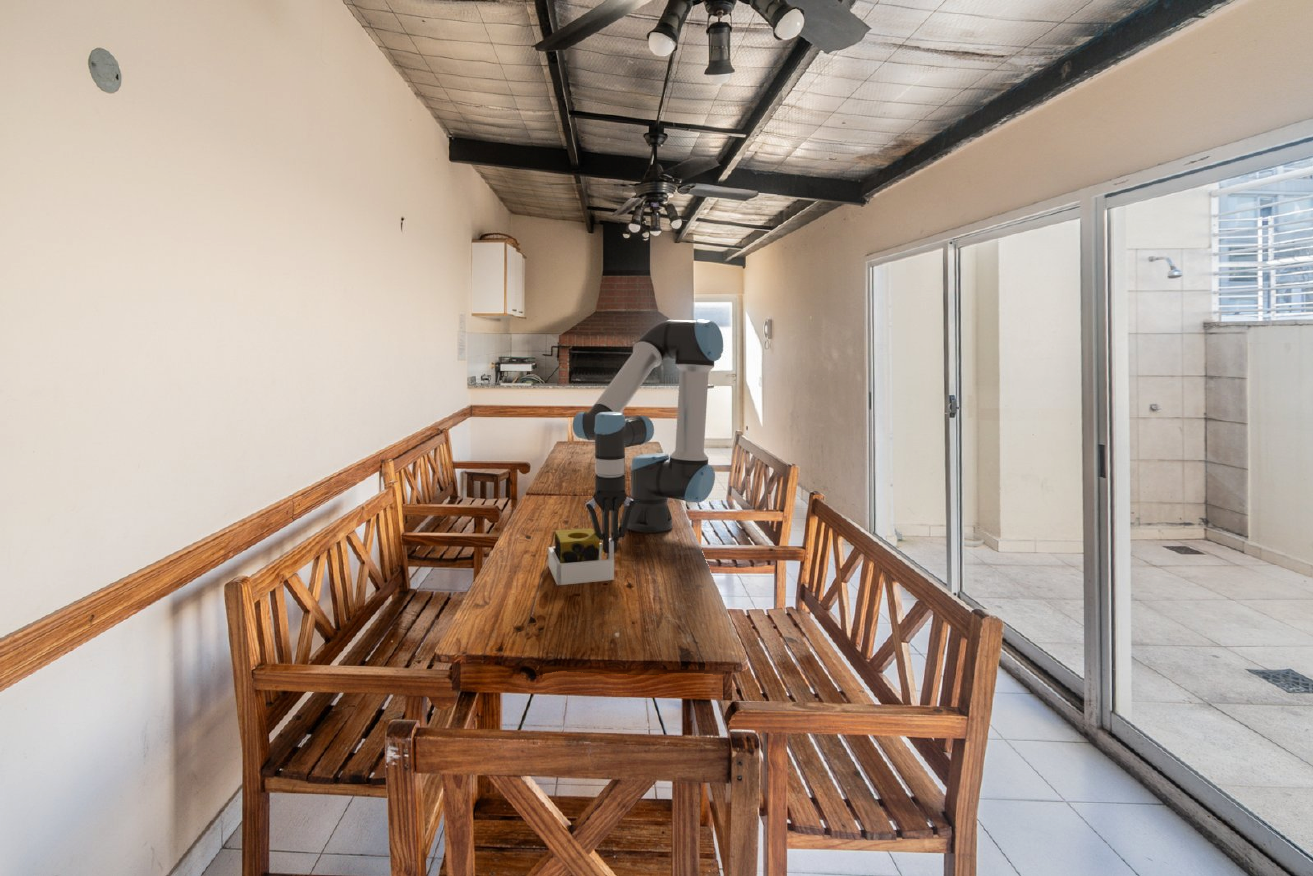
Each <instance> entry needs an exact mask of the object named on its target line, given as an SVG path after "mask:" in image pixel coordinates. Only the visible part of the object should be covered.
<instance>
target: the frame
mask: <svg viewBox="0 0 1313 876" xmlns="http://www.w3.org/2000/svg"><path fill="white" fill-rule="evenodd" d="M547 548H548V549H547V551H548V552H547V557H548V558H547V559H548V560H547V564H548V566H547V567H548V568H549V571H550V572H551V574H552V577H553V579H554V581H555V582H554V583H555V584H556V585H557V586H564V585H574V584H575V585H576V584H584V583H592V582H593V583H594V582H595V583H596V582H605V581H614V580H615V558H614V559H607V558H606V559H603V542H600V548H599V560H596V561H584V562H573V563H560V561H559V559H558V557H557V555H556V553H555V546H548V547H547Z"/></svg>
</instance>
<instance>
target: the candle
mask: <svg viewBox="0 0 1313 876" xmlns="http://www.w3.org/2000/svg"><path fill="white" fill-rule="evenodd" d="M600 543H601V541H600V540H599V538H598V537H597V536H596V534H595V531H594V528H574V529H555V530H554V544H555V545H554V547H555V553H556V555H557V557H558V559H559V561H560V563H573V562H584V561H596V560H599V548H600Z"/></svg>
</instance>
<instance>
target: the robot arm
mask: <svg viewBox="0 0 1313 876" xmlns="http://www.w3.org/2000/svg"><path fill="white" fill-rule="evenodd" d="M723 352H724V337H723V333H722V330H721V329H720V327H719V325H718V324H717V323H716V322H714V321H712V320H708V319H707V320H705V319H668V320H663V321H661V322H659V323H656V324H655V325H653V326H652V327H651V328H650V329H649V330H647V331H646V332H645V333H643V334H642V336H640V338H638V340H637V341H636V342H635V344H634V345H633V347H632V354H631V355H630V356H629V357H628V359H627V360H626V361H625V363H624V364H623V365H622V367H621V368H620V369H619V371H618V372H617V373H616V375H615V376H614V377H613V379H612V380H611V382H609V384H608V386H607V387H606V389H604V390H603V393H602V394H600V397H598V399H597V400H596V402H595V403H594V404H593V406H592V407H591V408H590V410H589V411H580V412H578V413H576V414H575V416H574V418H573V420H572V431H573V433H574V435H575V436H576V437H577V438H578V439H583V440H587V441H594V452H595V454H594V472H595V474H596V475H595V476H594V492H593V493H594V494H593V495H592V496H593V497H592V499H590V500H589V501H585V502H584V506H585V507H586V510H588V512H589V513H588V514H589V516H590V520H591V523H592V524H591V525H592V527H593V528H592V529H593V531H594V533H595V534H596V536H597V537H598V538H599V540H601V541H602V552H604V553H605V554H606V560H607V559H614V560H615V557H614V556H615V554H614V553H617V552H618V545H619V544H618V541H619V539H621V538H622V539H623V538H625V536H626V532H627V530H628V531H629V530H630V531H633V532H637V533H645V534H647V533H648V534H653V533H654V534H655V533H656V534H657V533H662V532H663V533H664V532H666V531H669V530H672V529H673V517H672V513H671V510H670V506H669V501H668V499H673V500H678V501H683V502H686V503H698V504H699V503H702V502H704V501H705V500H707V498H708V497H709V496H710V494H711V492H712V491H713V488H714V485H715V481H716V472H715V469H714V467H713V466H711V465H710V464H709V456H707V454H706V453H705V435H706V422H707V421H706V420H707V406H708V405H707V404H708V391H709V390H708V388H709V386H708V385H709V374H710V371H712V370H713V368H714V367H715V362H717V361H718V360H720V358H721V357H722V354H723ZM670 359H672V360H673V359H675V362H674V363H675V364H674V365H675V366H676V368H677V369H678V371H679V379H678V380H679V381H678V396H677V397H678V398H677V399H678V400H677V413H676V414H677V415H676V419H677V420H676V430H675V431H676V433H675V448H674V449H675V450H674V451H673V452H672V453H671V454H670V455H669V454H667V453H663V452H660V453H647V454H646V453H645V454H639V455H635V456H634V457H633V459H631V460H632V461H631V467H630V498H629V496H628V494H627V492H626V475H625V473H626V449H627V448H630V447H635V446H642V445H643V444H646V443H648V442H650V441H651V440H652V438H653V437H654V434H655V426H654V423H653V421H652V420H651V418H650V417H648V416H647V415H634V416H627V415H625V414H624V413H623V411H624V410H625V408H626V407H627V406H628V404H629V403H630V401H632V399H633V397H634V396H635V395H636V393H637V392H638V390H639V389H640V387H641V386H642V384H643V383H644V382H645V380H646V379H647V378H648V376H649V375H650V373H651V372H652V370H654V368H657V367H659V366H660V365H661V364H662V362H663V361H665V360H670ZM623 504H624V508H623V511H622V514H621V519H620V523H619V514H620V509H621V507H622V505H623ZM596 505H597V506H598V508H600V509H601V510H600V511H601V526H600V523H599V520H598V516H597V512H596V510H595V509H596ZM610 517H611V518H610Z"/></svg>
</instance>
